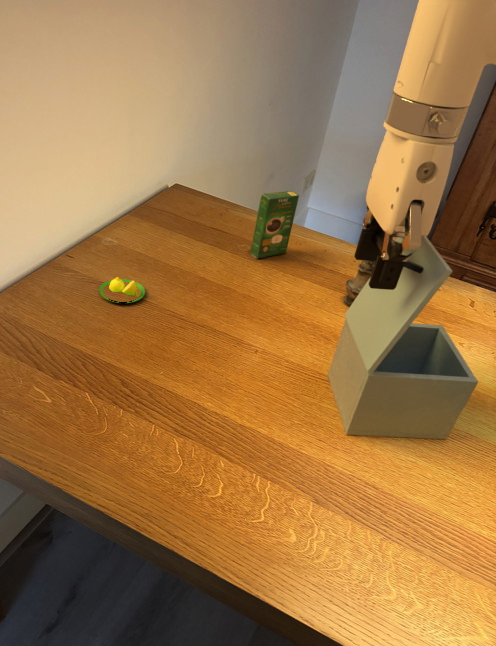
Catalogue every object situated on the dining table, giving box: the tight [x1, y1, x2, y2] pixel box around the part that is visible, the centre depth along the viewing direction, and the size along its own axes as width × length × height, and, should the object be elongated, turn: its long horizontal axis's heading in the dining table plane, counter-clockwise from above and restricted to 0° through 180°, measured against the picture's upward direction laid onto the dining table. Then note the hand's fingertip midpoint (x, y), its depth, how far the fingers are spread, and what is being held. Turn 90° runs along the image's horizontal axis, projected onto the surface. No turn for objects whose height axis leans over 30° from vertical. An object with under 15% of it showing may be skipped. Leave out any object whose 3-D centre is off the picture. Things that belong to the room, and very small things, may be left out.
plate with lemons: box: [99, 276, 146, 304], centre depth 96 cm, size 8×8×3 cm
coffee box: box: [249, 190, 300, 260], centre depth 111 cm, size 8×3×13 cm, turn 122°
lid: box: [344, 228, 453, 373], centre depth 68 cm, size 16×13×6 cm
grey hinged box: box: [327, 319, 479, 440], centre depth 78 cm, size 15×13×11 cm
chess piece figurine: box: [342, 260, 376, 308], centre depth 100 cm, size 6×6×12 cm
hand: (373, 271), depth 67 cm, fingers closed on lid, 6 cm apart
